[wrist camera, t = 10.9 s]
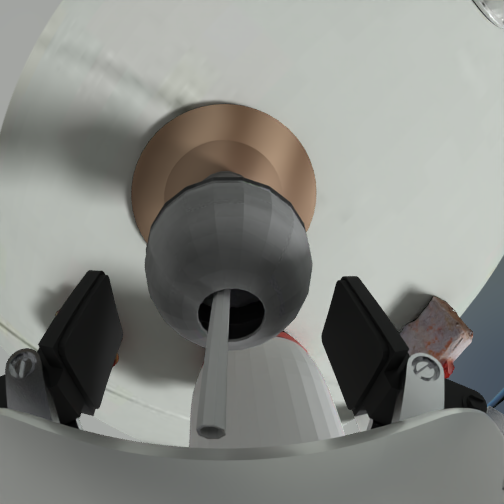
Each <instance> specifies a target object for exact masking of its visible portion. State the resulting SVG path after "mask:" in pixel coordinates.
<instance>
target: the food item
mask: <svg viewBox="0 0 504 504" xmlns="http://www.w3.org/2000/svg"><path fill="white" fill-rule="evenodd" d="M454 311H455V310H454ZM454 311H453V308H452V307H451V306H450V305H449V304H448V303H447V302H446V301H443V300H441V299H440V298H438V297H434V296H433V298H432V300H431V301H430V302H429V305H428V306H427V307H426V308H425V310H424V311H423V312H422V313H421V314H420V316H419V317H418V318H417V319H416V320H415V321H414V322H411V323H408V324H407V325H406V326H405V327H404V328H403V330H402V332H401V333H400V335H401V337H402V338H403V340H404V341H405V343H406V344H407V346H408V347H409V351H408V353H409V355H410V356H411V355H413V354H416V353H426V354H429V355H431V356H433V357H434V358H436V359H437V360H438V361H439V362H440V363H441V365H442V367H443V370H444V378H448V377H449V376H450V374H452V372H453V370H454V365H453V361H454V360H456V358H457V357H458V356H459V355H460V354H461V353H462V351H463V350H464V349H465V348H466V347H467V346H468V345H469V344H470V343H471V342H472V338H473V331H472V333H471V330H470V329H469V328H468V327H467V326H466V324H464V322H463V321H462V320H461V318H459V316H458V315H457V313H456V311H455V312H454Z"/></svg>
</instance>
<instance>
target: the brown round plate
mask: <svg viewBox="0 0 504 504" xmlns="http://www.w3.org/2000/svg"><path fill="white" fill-rule="evenodd" d="M220 171H231V172H234V173H237V174H240V175H242V176H243V177H244V178H247V179H250V180H253V181H256V182H259V183H262V184H265V185H268V186H270V187H271V188H273V189H274V190H275V191H277V192H278V193H279V194H281V195H282V196H283V197H284V198H286V199H287V200H288V201H290V202H291V204H292V205H293V207H294V208H295V210H296V211H297V213H298V215H299V216H300V218H301V219H302V221H303V222H304V225H305V229H306V232H307V230H308V228H309V226H310V223H311V220H312V217H313V214H314V209H315V204H316V181H315V175H314V170H313V167H312V164H311V162H310V159H309V157H308V155H307V153H306V151H305V149H304V147H303V146H302V144H301V143H300V142H299V140H298V139H297V137H296V136H295V135H294V134H293V133H292V132H291V131H290V130H289V129H288V128H287V127H286V126H284V125H283V124H282V123H281V122H279V121H278V120H276V119H275V118H273V117H271V116H270V115H268V114H266V113H263V112H261V111H259V110H256V109H253V108H249V107H245V106H241V105H232V104H215V105H209V106H203V107H200V108H196V109H193V110H190V111H188V112H186V113H184V114H182V115H179V116H177V117H176V118H174V119H173V120H171V121H170V122H168V123H167V124H166V125H164V126H163V127H162V128H161V129H160V130H159V131H158V132H157V133H156V134H155V135H154V136H153V137H152V139H151V140H150V141H149V142H148V144H147V145H146V147H145V148H144V150H143V152H142V153H141V156H140V158H139V160H138V162H137V165H136V168H135V171H134V175H133V181H132V191H131V200H132V207H133V213H134V217H135V220H136V223H137V226H138V228H139V230H140V233H141V234H142V236H143V238H144V239H145V241H146V243H147V242H148V237H149V232H150V228H151V225H152V223H153V221H154V220H155V218H156V217H157V215H158V213H159V212H160V210H161V208H162V207H163V205H164V204H165V203H166V202H167V201H168V200H170V199H171V198H172V197H173V196H175V195H176V194H177V193H179V192H180V191H181V190H182V189H184V188H185V187H186V186H189V185H192V184H195V183H198V182H201V181H203V180H204V179H205V178H207V177H208V176H209V175H211V174H214V173H217V172H220Z"/></svg>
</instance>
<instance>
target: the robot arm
mask: <svg viewBox="0 0 504 504" xmlns="http://www.w3.org/2000/svg"><path fill="white" fill-rule="evenodd" d="M474 2H475V3H476V4H477V6H478V7H479V8H480V10H481V11H482V12H483V13H484V14H485V15H486V17H487V18H488V19H489V20H490V21H491V22H493V23H494V24H495V25H496V26H498V27H500V28H504V0H474ZM122 337H123V333H122V328H121V324H120V321H119V317H118V313H117V309H116V305H115V301H114V297H113V293H112V288H111V284H110V279H109V277H108V276H107V275H105V273H104V272H103V271H92V270H90V271H88V272H87V273H86V274H85V276H84V277H83V278H82V280H81V281H80V282H79V284H78V285H77V286H76V288H75V289H74V291H73V292H72V293H71V295H70V296H69V298H68V299H67V301H66V302H65V303H64V305H63V306H62V308H61V309H60V311H59V312H58V314H57V315H56V317H55V318H54V320H53V321H52V323H51V325H50V326H49V328H48V329H47V331H46V333H45V334H44V336H43V337H42V339H41V341H40V342H39V344H38V345H39V347H40V348H39V349H38V351H37V352H36V351H35V350H33V349H29V348H25V349H21V350H18V351H16V352H15V353H14V354H12V355H11V356H10V358H9V359H8V361H7V363H6V369H5V375H3V376H1V377H0V504H504V415H503V414H502V413H500V412H498V411H497V410H495V409H494V408H492V407H490V406H489V407H488V408H487V404H486V401H485V399H484V398H483V396H482V395H480V393H478V392H477V391H475V390H472V389H470V388H467V387H465V386H463V385H460V384H458V383H455V382H453V381H451V380H448V379H446V378H444V370H443V367H442V365H441V363H440V362H439V361H438V360H437V359H436V358H434V357H433V356H431V355H429V354H426V353H416V354H413V355H411V356H410V355H409V353H408V351H409V347H408V346H407V344H406V343H405V341H404V340H403V338H402V337H401V335H400V334H399V333H398V331H397V330H396V328H395V327H394V325H393V324H392V322H391V321H390V320H389V318H388V317H387V315H386V314H385V313H384V311H383V310H382V308H381V307H380V306H379V304H378V303H377V302H376V300H375V299H374V297H373V296H372V295H371V293H370V292H369V291H368V289H367V288H366V287H365V285H364V284H363V283H362V281H361V280H360V279H359V278H358V277H357V276H344V277H342V278H341V280H338V281H337V283H336V286H335V290H334V294H333V298H332V301H331V305H330V308H329V312H328V315H327V319H326V322H325V325H324V329H323V332H322V343H323V346H324V348H325V351H326V353H327V356H328V358H329V361H330V363H331V366H332V368H333V371H334V373H335V376H336V379H337V381H338V384H339V386H340V389H341V392H342V394H343V397H344V400H345V402H346V405H347V407H348V409H350V410H352V411H353V414H354V416H355V417H356V416H360V415H364V414H368V416H369V418H370V420H369V423H368V427H367V430H366V431H362V432H358V433H354V434H350V435H345V436H341V437H336V438H331V439H325V440H319V441H313V442H307V443H299V444H291V445H282V446H271V447H257V448H191V447H177V446H166V445H157V444H149V443H142V442H136V441H129V440H124V439H119V438H113V437H109V436H104V435H100V434H96V433H91V432H88V431H84V430H83V428H82V425H81V422H80V420H79V417H80V415H81V413H84V414H88V415H92V416H94V412H95V409H98V408H99V407H100V405H101V401H102V398H103V395H104V391H105V388H106V385H107V382H108V379H109V376H110V373H111V370H112V367H113V364H114V361H115V358H116V355H117V352H118V349H119V346H120V344H121V341H122Z"/></svg>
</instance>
